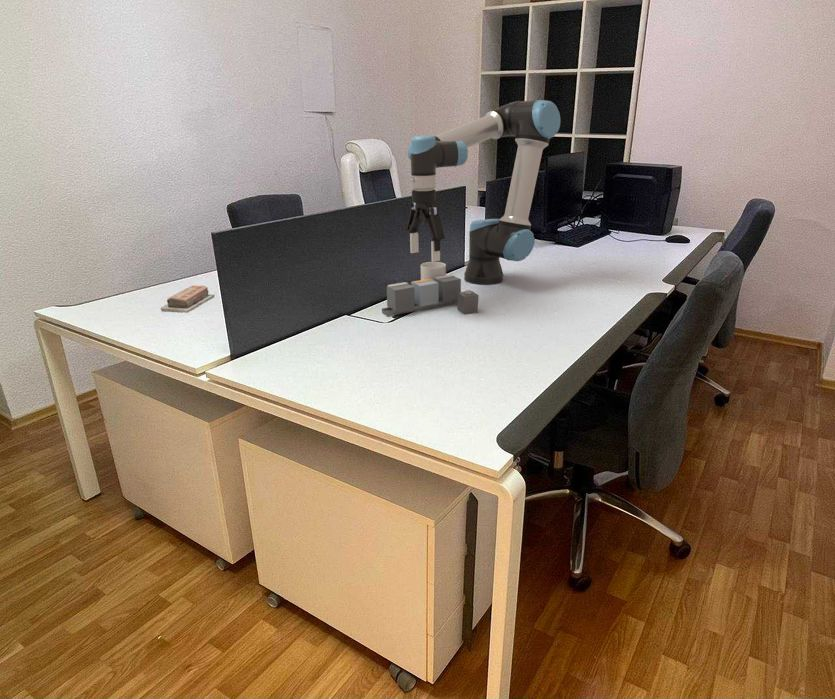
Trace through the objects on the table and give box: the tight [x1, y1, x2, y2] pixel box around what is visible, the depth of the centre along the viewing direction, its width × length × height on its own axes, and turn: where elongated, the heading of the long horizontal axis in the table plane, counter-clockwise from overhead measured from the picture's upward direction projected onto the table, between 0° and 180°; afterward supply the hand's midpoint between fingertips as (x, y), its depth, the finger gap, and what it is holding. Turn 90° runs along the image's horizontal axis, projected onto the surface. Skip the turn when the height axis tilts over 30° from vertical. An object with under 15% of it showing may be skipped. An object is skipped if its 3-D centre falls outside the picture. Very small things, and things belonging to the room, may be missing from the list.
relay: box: [457, 289, 479, 315], centre depth 183 cm, size 5×5×7 cm
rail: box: [381, 300, 458, 317], centre depth 188 cm, size 30×4×2 cm, turn 120°
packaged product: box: [160, 285, 215, 313], centre depth 194 cm, size 18×5×10 cm
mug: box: [420, 261, 447, 281], centre depth 200 cm, size 12×9×11 cm
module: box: [410, 279, 439, 307], centre depth 187 cm, size 7×6×7 cm
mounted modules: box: [386, 274, 462, 311], centre depth 187 cm, size 25×6×7 cm, turn 120°
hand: (424, 256), depth 182 cm, fingers open, 13 cm apart
